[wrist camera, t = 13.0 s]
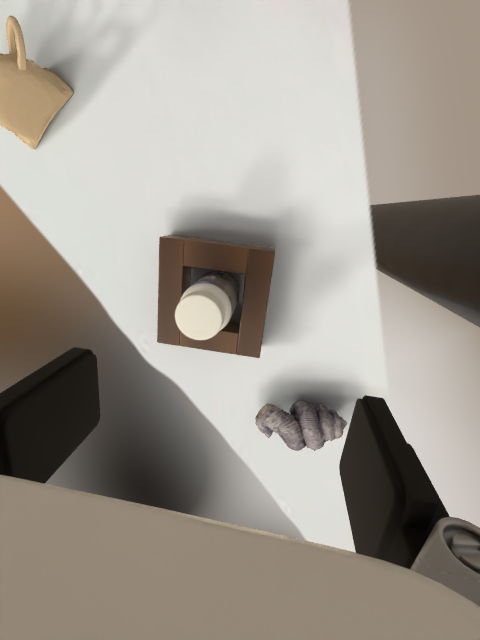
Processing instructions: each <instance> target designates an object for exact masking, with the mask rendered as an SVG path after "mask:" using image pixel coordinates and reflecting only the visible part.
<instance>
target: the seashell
mask: <svg viewBox="0 0 480 640" xmlns="http://www.w3.org/2000/svg"><path fill="white" fill-rule="evenodd" d="M290 413H291V414H289V413H287V412H286V411H283V410H280V409H279V408H277V407H275V406H274V405H271V404H266V405H265V406H264V407H263V408H262V409H261V410H260V411H259V412H258V415H257V416H256V425H257V426H258V429H259V430H260V431H261V432H262V433H264V434H265V435H266V436H267V437H268V438H269V437H270V436H271V435H272V432H273V431H274V432H276V433H278V434H279V435H280V437H281V438H282V439H283V440H284V442H285V443H286V444H287V446H288V447H289V448H291V449H293V450H297V451H298V450H301V449H302V448H304V447H305V446H306V445H307V448H311V449H313V450H314V451H315V450H316V449H320V448H321V447H323V445H324V443H325V442H326V441H328V440H330V441H332V440H334V439H337V438H340V437H341V436H342V435H343V429H344V428H345V426H346V425H347V422H346V421H345V420H343V418H342V417H340V416H339V415H338V414H337V412H336V411H334V410H330V409H329V408H328V407H327V406H325V405H323V404H316V405H311V404H309V403H308V402H306V401H301V400H300V401H298V402H296V403H294V404H293V405H292V407H291V408H290Z"/></svg>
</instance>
